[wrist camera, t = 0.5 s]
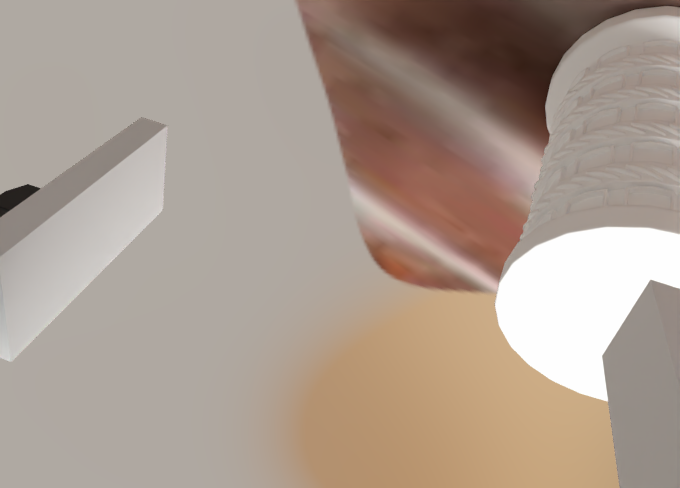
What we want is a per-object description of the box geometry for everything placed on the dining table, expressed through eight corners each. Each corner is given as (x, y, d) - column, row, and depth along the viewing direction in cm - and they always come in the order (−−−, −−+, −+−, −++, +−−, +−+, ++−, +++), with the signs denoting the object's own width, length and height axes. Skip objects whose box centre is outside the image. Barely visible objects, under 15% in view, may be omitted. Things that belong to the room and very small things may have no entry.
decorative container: (721, -37, 32) (735, 177, 20) (795, 141, 36) (842, 401, 25) (514, 63, 39) (437, 261, 28) (596, 200, 44) (560, 420, 32)
